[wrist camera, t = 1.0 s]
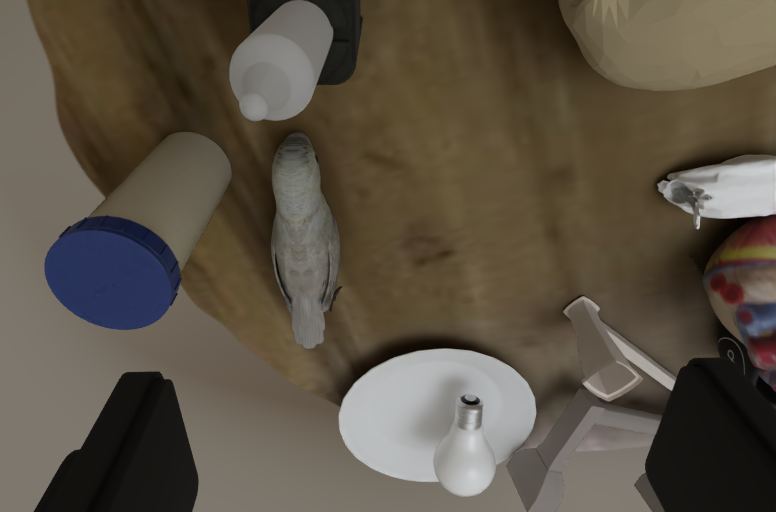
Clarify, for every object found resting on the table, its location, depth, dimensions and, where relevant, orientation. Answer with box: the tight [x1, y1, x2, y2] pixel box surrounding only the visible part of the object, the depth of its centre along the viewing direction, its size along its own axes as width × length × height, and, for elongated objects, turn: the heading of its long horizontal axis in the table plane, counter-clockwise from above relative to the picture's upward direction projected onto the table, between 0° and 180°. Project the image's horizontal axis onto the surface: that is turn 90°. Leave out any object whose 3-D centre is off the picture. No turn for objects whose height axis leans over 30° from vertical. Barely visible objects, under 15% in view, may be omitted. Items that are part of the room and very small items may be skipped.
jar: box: [88, 132, 232, 275], centre depth 37 cm, size 6×6×15 cm
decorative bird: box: [271, 131, 342, 349], centre depth 43 cm, size 5×16×7 cm, turn 1°
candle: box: [229, 0, 363, 121], centre depth 26 cm, size 5×5×25 cm
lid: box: [45, 215, 182, 330], centre depth 30 cm, size 7×7×2 cm
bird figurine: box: [657, 155, 776, 229], centre depth 42 cm, size 5×7×10 cm
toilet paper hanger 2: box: [506, 388, 665, 512], centre depth 58 cm, size 22×13×6 cm, turn 67°
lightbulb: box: [433, 394, 496, 497], centre depth 54 cm, size 6×6×11 cm
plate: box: [339, 348, 536, 482], centre depth 57 cm, size 21×21×2 cm
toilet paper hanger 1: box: [563, 296, 677, 402], centre depth 51 cm, size 23×9×4 cm
